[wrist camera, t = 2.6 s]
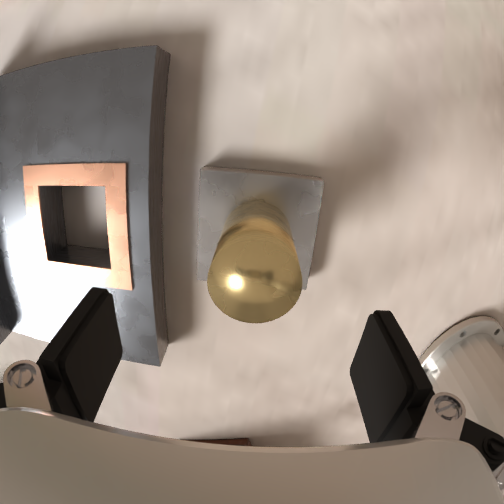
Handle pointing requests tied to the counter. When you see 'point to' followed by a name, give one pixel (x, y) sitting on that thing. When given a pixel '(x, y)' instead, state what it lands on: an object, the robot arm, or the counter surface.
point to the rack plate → (84, 174)
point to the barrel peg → (255, 265)
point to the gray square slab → (257, 189)
